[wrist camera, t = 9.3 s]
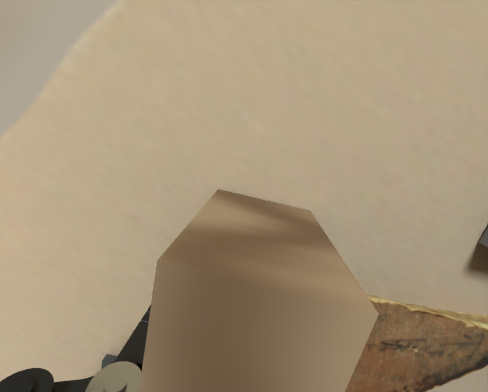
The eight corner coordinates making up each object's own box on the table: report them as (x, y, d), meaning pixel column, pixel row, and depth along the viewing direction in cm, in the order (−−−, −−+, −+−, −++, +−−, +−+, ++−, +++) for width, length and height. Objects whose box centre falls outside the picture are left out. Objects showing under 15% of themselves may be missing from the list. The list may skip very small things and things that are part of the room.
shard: (518, 313, 11) (565, 348, 9) (444, 421, 13) (471, 465, 11) (289, 260, 11) (294, 284, 10) (255, 374, 13) (253, 410, 12)
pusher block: (310, 210, 10) (378, 313, 4) (255, 386, 12) (250, 605, 7) (218, 189, 10) (157, 260, 4) (182, 368, 12) (113, 568, 7)
